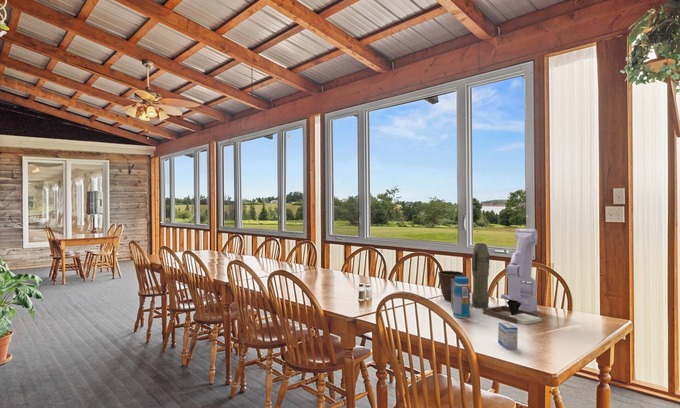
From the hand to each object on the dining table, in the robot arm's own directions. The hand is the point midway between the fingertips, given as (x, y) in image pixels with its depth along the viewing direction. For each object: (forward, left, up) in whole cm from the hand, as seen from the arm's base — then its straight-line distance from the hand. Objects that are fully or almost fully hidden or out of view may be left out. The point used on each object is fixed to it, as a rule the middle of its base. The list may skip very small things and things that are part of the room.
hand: (514, 315), depth 209 cm
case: (0, -2, -2) cm, 2 cm away
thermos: (-4, -26, -2) cm, 26 cm away
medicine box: (+35, +25, -2) cm, 43 cm away
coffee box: (+12, -27, -2) cm, 29 cm away
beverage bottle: (+20, -16, -2) cm, 25 cm away
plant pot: (-1, -46, -2) cm, 46 cm away
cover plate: (0, +6, -1) cm, 6 cm away
